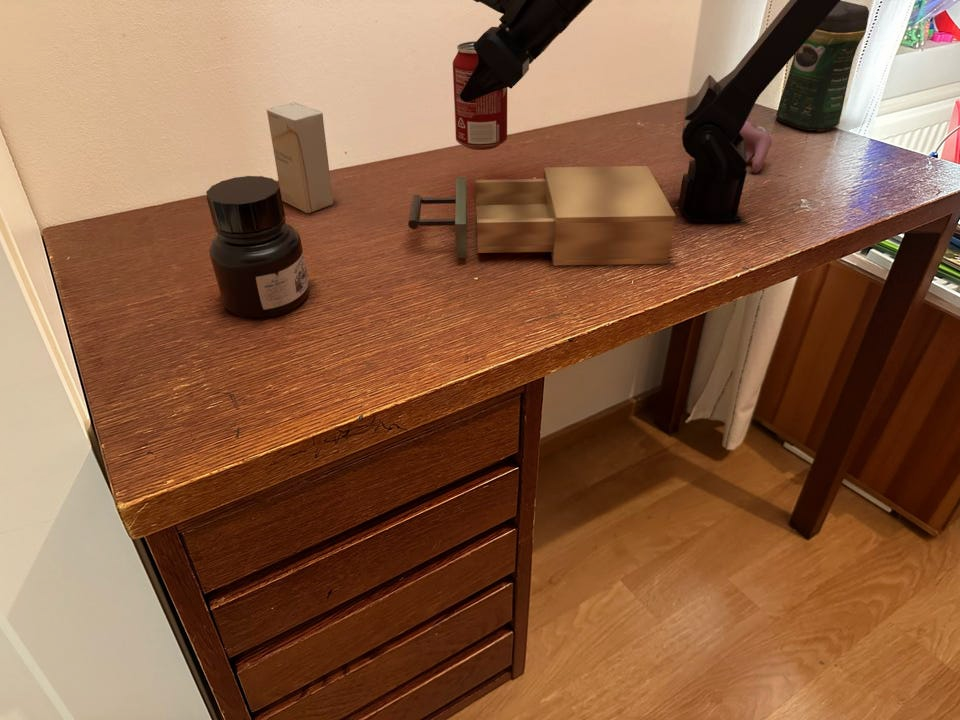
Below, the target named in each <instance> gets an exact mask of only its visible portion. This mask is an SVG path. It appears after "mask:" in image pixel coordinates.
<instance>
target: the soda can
mask: <svg viewBox="0 0 960 720" xmlns="http://www.w3.org/2000/svg"><path fill="white" fill-rule="evenodd" d="M476 41H477V40H474V41H466V42H462V43H460V44H458V45H457V46H456V50H457V53H456V55H455V56H454V58H453V61H452V80H453V81H452V82H453V84H452V85H453V104H454V105H453V106H454V108H453V109H454V127H455V141H456V143H458V144H460V145H461V146H463V147H464V148H466V149H470V150H475V151H486V150H492V149H496V148H498V147H499V146H500V145H502V144H504V143H505V142H506V141H507V140H508V87H506V88H503V89H500V90H498V91H495V92H492V93H489V94H486V95H484V96H481V97H479V98H476V99H473V100H471V101H468V102H464V101H463V100H462V99H461V98H460V94H461V92H462V90H463V88H464V87H465V85H466V83H467V82H468V80H469V78H470V76H471V75H472V73H473V71H474V69H475V68H476V66H477V64H478V54H477V52H476V51H475V50H474V47H473V45H474V43H475V42H476Z"/></svg>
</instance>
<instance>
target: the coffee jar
mask: <svg viewBox="0 0 960 720" xmlns="http://www.w3.org/2000/svg"><path fill="white" fill-rule="evenodd" d="M869 16H870V10H869V7H868V6H867V5H863V4H858V3H854V2H850V1H845V0H840V2H839V3H838V4H837V5H836V6H835V7H834V9H833V10H832V11H831V12H830V13H829V15H828V16H827V17H826V18H825V19H824V20H823V22H822V23H821V24H820V25H819V26H818V27H817V29H816V30H815V31H814V32H813V33H812V34H811V36H810V37H809V38H808V39H807V40H806V41H805V43H804V44H803V45H802V46H801V47H800V48H799V50H798V51H797V52H796V53H795V54H794V56H793V57H792V61H791V64H790V68H789V72H788V75H787V78H786V81H785V84H784V88H783V90H782V94H781V97H780V99H779V103H778V107H777V111H776V119H777V120H778V121H780V122H782V123H783V124H784V123H785V124H786V125H789V126H791V127H794V128H797V129H800V130H804V131H819V132H826V131H829V130H832V129H834V128H836V127H837V126H838V125H839V124H840V122H841V121H840V120H841V117H842V112H843V108H844V104H845V98H846V93H847V88H848V83H849V80H850V75H851V71H852V67H853V63H854V58H855V55H856V52H857V50H858V47H859V45H860V44H861V41H862V40H863V39H864V37H865V35H866V32H867V29H868V21H869V18H870V17H869Z"/></svg>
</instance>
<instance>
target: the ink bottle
mask: <svg viewBox="0 0 960 720" xmlns="http://www.w3.org/2000/svg"><path fill="white" fill-rule="evenodd" d="M205 191H206V192H205V194H206V196H205V197H206V201H207V205H208V208H209V209H208V210H209V212H210V217H211V220H212V224H213V227H214V231H215V232H216V233H217V234H216V235H215V237H214V238H213V239H212V241H211V242H210V245H209V249H208V250H209V258H210V261H211V265H212V268H213V272H214V276H215V279H216V283H217V287H218V290H219V291H218V292H219V294H220V298H221V302H222V305H223V306H224V308H225V309H226V310H227V311H228V312H230V313H232V314H235V315H237V316H242V317H246V318H247V317H248V318H268V317H275V316H279V315H283V314H285V313H288V312H290V311H292V310H293V309H295V308H297V307H298V306H300V304H302V303H303V302H304V301H305V300H306V298H307V297H308V295H309V292H310V282H309V277H308V272H307V266H306V260H305V254H304V249H303V244H302V243H303V242H302V239H301V236H300V234H299V232H298V231H297V230H296V229H295V228H294V227H293V226H292V225H290V224H287V223H286V220H287V219H286V217H287V216H286V213H285V208H284V207H285V206H284V201H282V196H281V191H280V186H279V181H277V180H275V179H273V178H272V177H266V176H263V175H244V176H236V177H232V178H228V179H223V180H221V181H220V182H217V183H215V184H213V185H211V186H210V188H208V190H205Z"/></svg>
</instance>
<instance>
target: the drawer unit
mask: <svg viewBox="0 0 960 720" xmlns="http://www.w3.org/2000/svg"><path fill="white" fill-rule="evenodd" d="M543 179H546V183H547V188H548V192H549V196H550V200H551V204H552V208H553V213H554V217H555V234H554V250H553V252H550V257H551V261H552V265H553V266H554V267H555V266H609V265H610V266H611V265H612V266H613V265H614V266H615V265H664V264H665V265H667V264H668V263H669V258H670V252H671V246H672V241H673V233H674V228H675V224H676V223H675V222H676V217H677V215H676V214H675V211H674V210H673V208H672V206H671V205H670V203H669V201H668V199H667V198H666V196H665V194H664V192H663V190H662V188H661V187H660V185H659V183H658V182H657V180H656V178H655V176H654V174H653V173H652V172H651V169H650V168H649V166H648V165H618V166H617V165H615V166H614V165H613V166H612V165H611V166H550V167H549V166H548V167H547V166H546V167H543Z"/></svg>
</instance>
